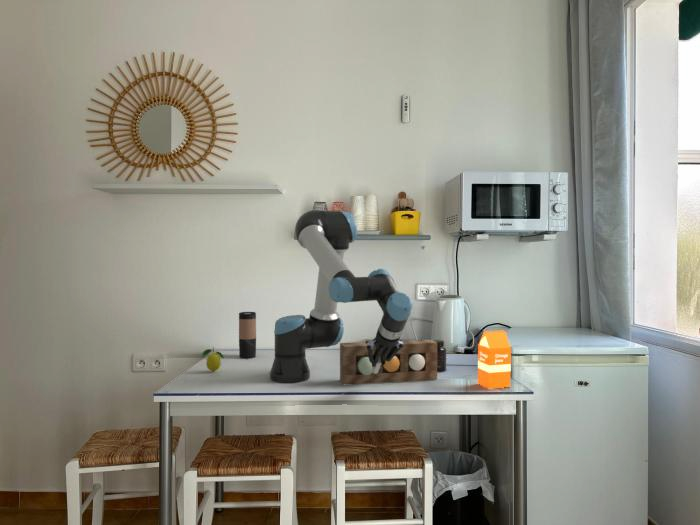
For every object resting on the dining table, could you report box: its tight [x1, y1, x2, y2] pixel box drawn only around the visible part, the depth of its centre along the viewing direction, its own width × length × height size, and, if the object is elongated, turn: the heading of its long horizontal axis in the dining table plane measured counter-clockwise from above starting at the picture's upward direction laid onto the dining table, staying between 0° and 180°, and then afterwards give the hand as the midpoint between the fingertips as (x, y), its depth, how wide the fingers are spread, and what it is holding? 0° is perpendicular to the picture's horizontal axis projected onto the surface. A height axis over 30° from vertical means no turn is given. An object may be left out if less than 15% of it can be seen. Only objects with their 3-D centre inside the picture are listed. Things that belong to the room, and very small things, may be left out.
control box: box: [339, 339, 438, 385], centre depth 193 cm, size 36×7×14 cm, turn 103°
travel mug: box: [238, 311, 257, 360], centre depth 231 cm, size 8×8×20 cm
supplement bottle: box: [432, 339, 447, 373], centre depth 209 cm, size 7×7×12 cm
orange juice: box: [477, 330, 512, 390], centre depth 186 cm, size 8×9×20 cm
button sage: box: [357, 357, 373, 375], centre depth 186 cm, size 6×3×6 cm, turn 103°
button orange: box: [383, 356, 400, 372], centre depth 191 cm, size 6×3×6 cm, turn 103°
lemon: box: [201, 346, 225, 373], centre depth 204 cm, size 7×6×10 cm
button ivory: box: [408, 353, 425, 371], centre depth 193 cm, size 6×3×6 cm, turn 103°
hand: (374, 370), depth 181 cm, fingers closed
